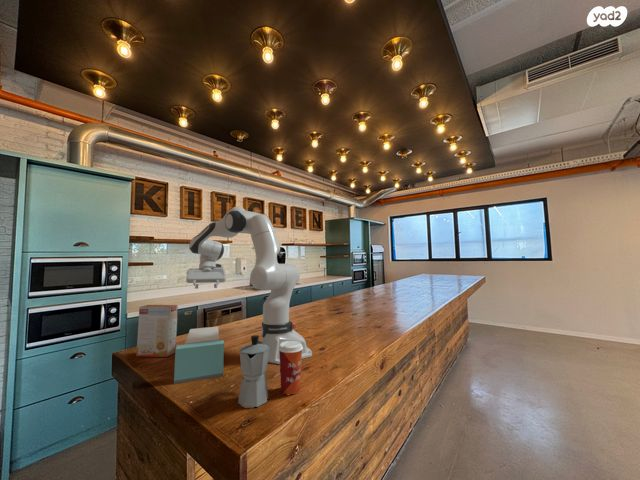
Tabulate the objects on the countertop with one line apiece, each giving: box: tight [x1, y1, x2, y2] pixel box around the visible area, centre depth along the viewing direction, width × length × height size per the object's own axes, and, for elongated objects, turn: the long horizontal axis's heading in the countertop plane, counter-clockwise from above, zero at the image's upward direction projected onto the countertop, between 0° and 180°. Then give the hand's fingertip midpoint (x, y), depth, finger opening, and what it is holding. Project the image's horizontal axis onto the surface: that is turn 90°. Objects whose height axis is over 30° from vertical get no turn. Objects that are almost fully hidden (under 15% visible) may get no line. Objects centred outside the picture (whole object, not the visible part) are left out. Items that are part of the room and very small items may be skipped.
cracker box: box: [135, 304, 179, 358], centre depth 108 cm, size 14×6×21 cm, turn 84°
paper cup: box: [278, 341, 303, 395], centre depth 77 cm, size 8×8×14 cm
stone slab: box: [184, 326, 220, 345], centre depth 107 cm, size 12×22×4 cm, turn 23°
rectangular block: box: [173, 339, 225, 385], centre depth 103 cm, size 15×39×11 cm, turn 23°
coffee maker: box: [237, 334, 270, 409], centre depth 73 cm, size 15×9×18 cm, turn 5°
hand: (206, 287), depth 135 cm, fingers open, 8 cm apart
